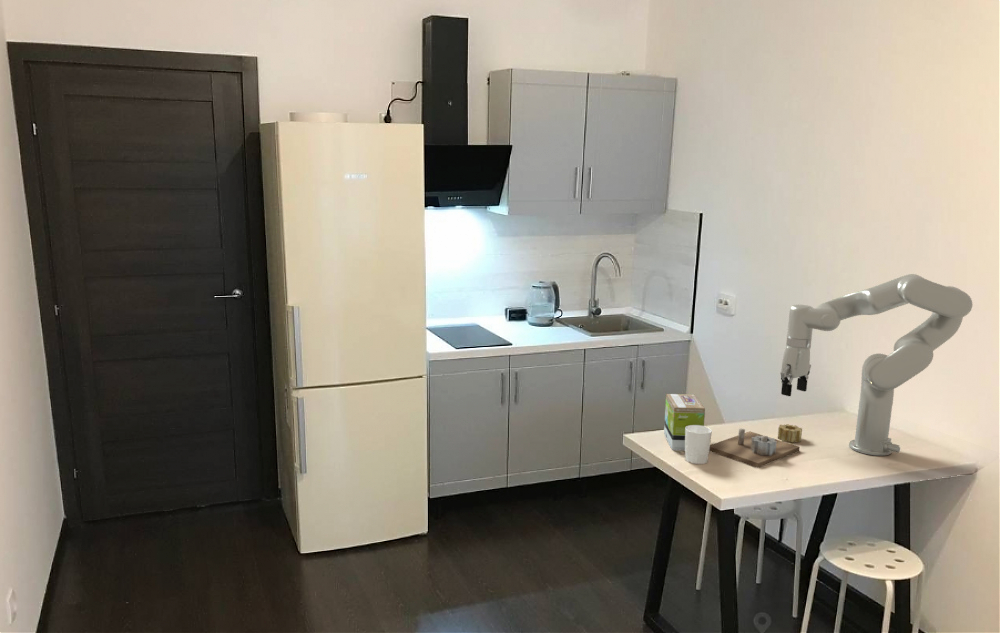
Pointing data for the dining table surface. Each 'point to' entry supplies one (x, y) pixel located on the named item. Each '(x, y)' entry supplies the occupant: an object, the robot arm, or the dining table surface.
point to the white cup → (697, 443)
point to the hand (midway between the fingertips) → (793, 392)
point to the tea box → (681, 417)
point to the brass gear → (789, 433)
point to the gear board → (742, 451)
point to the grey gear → (763, 446)
